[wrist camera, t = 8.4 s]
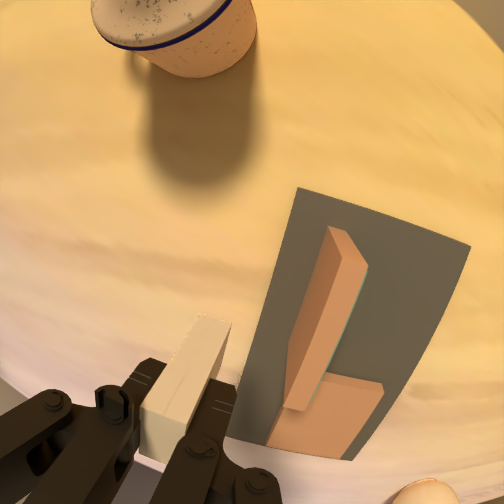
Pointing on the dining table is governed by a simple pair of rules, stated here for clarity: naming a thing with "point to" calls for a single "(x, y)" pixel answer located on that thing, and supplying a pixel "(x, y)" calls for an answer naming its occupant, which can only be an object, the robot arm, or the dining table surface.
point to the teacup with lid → (179, 32)
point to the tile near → (322, 316)
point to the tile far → (327, 417)
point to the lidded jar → (427, 493)
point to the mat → (362, 317)
